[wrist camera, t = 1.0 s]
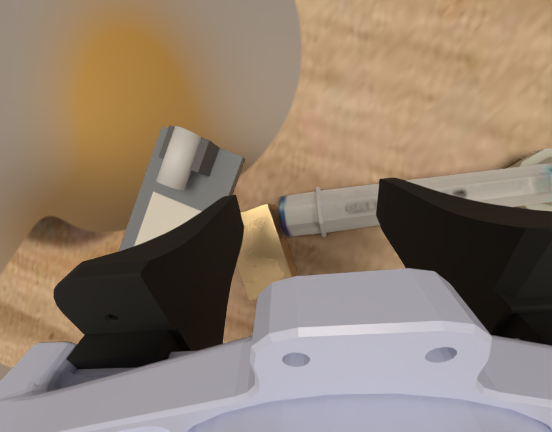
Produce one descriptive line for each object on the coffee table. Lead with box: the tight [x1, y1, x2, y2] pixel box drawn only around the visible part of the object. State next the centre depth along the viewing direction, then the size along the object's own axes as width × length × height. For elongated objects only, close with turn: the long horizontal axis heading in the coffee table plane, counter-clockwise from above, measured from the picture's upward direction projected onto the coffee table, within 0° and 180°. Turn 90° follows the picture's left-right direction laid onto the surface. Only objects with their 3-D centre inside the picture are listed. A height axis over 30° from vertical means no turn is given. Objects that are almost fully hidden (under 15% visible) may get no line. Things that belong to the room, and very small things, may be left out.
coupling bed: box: [119, 126, 245, 251], centre depth 22 cm, size 22×9×5 cm, turn 158°
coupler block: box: [236, 204, 297, 301], centre depth 21 cm, size 7×4×5 cm, turn 19°
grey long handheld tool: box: [278, 148, 552, 237], centre depth 19 cm, size 5×7×25 cm
